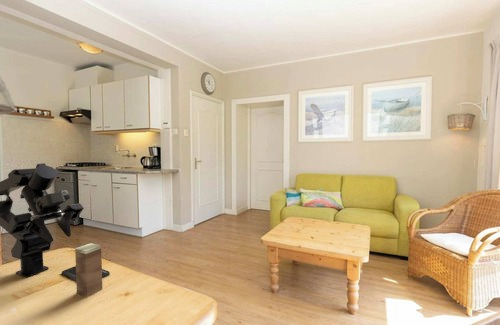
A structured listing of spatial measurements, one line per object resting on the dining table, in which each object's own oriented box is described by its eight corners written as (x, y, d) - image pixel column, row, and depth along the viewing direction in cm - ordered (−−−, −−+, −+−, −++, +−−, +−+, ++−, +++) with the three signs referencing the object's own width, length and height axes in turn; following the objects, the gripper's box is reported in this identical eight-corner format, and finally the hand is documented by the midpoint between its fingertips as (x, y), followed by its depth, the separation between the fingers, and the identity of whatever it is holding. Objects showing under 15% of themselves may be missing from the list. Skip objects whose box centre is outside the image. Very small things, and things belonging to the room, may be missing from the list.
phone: (85, 262, 90) (111, 272, 83) (85, 265, 90) (111, 275, 83) (60, 271, 83) (85, 283, 76) (60, 275, 83) (85, 287, 76)
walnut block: (76, 293, 72) (75, 248, 71) (92, 285, 76) (90, 243, 75) (87, 297, 70) (85, 251, 69) (102, 289, 74) (101, 245, 74)
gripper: (10, 187, 70) (35, 231, 66) (79, 179, 87) (102, 214, 83) (-3, 212, 74) (19, 256, 70) (65, 200, 91) (87, 235, 87)
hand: (61, 238), depth 77 cm, fingers open, 5 cm apart
